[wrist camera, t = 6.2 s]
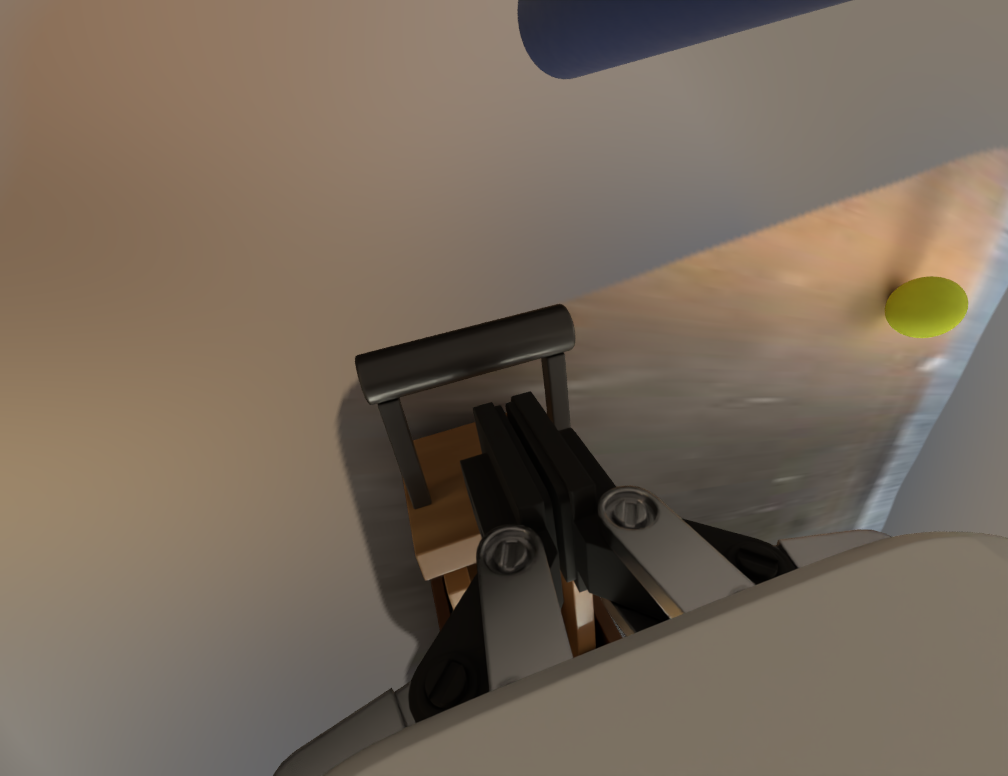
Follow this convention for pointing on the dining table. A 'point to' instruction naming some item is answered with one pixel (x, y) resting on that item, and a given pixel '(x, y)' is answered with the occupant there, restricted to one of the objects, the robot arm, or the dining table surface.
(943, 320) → the ball
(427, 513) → the drawer
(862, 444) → the dining table surface
